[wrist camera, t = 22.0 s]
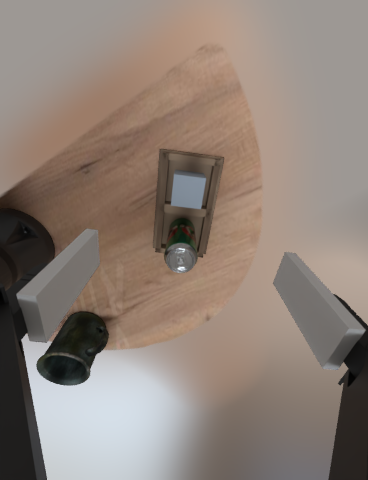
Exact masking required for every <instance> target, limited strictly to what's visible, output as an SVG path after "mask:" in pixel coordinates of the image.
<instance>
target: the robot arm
mask: <svg viewBox="0 0 368 480" xmlns="http://www.w3.org/2000/svg"><path fill="white" fill-rule="evenodd" d="M53 258H54V244H53V241H52V239H51V237H50V235H49V233H48V232H47V231H46V229H45V228H44V227H43V226H42V225H41V224H40V223H39V222H38V221H36V220H35V219H34V218H32V217H31V216H29V215H27V214H25V213H23V212H20V211H17V210H13V209H0V480H47V476H46V471H45V465H44V460H43V455H42V449H41V444H40V438H39V432H38V427H37V422H36V416H35V411H34V406H33V400H32V394H31V389H30V384H29V378H28V373H27V367H26V362H25V356H24V351H23V345H22V342H21V339H22V338H23V337H24V336H25V334H26V333H28V336H29V340H30V341H35V342H45V343H47V342H48V340H49V339H50V337H51V336H52V334H53V333H54V331H55V330H56V328H57V327H58V325H59V324H60V322H61V321H62V319H63V318H64V316H65V315H66V313H67V312H68V311H69V309H70V308H71V306H72V305H73V303H74V302H75V300H76V299H77V297H78V296H79V294H80V293H81V291H82V290H83V288H84V287H85V285H86V284H87V282H88V281H89V279H90V278H91V276H92V275H93V273H94V272H95V270H96V269H97V267H98V266H99V264H100V258H99V241H98V230H94V229H85V230H84V231H83V232H82V233H81V234H80V235H79V236H78V237H77V238H76V239H75V240H74V241H73V242H72V243H71V244H69V245H68V246H67V247H66V248H65V249H64V250H63V251H62V252H61V253H60V254H59V255H58V256H57V257H56V258H55V259H53ZM273 284H274V286H275V287H276V289H277V291H278V293H279V294H280V296H281V298H282V299H283V301H284V303H285V305H286V306H287V308H288V310H289V312H290V313H291V315H292V317H293V318H294V320H295V322H296V323H297V325H298V327H299V329H300V331H301V332H302V334H303V336H304V337H305V339H306V341H307V342H308V344H309V346H310V348H311V349H312V351H313V353H314V355H315V356H316V358H317V360H318V362H319V363H320V365H321V367H322V368H323V369H333V370H338V368H339V367H340V366H341V364H342V363H343V362H344V363H345V364H346V366H347V367H348V368H349V369H348V370H347V372H346V373H345V375H344V376H343V377H342V378H341V380H340V381H339V383H338V384H339V385H341V384H342V383H344V384H343V391H342V397H341V403H340V410H339V417H338V423H337V429H336V435H335V442H334V449H333V455H332V462H331V467H330V474H329V480H368V326H367V324H366V323H365V322H364V321H363V320H362V319H361V318H360V317H359V316H358V315H356V313H355V312H354V311H353V310H352V309H351V308H350V306H348V304H347V303H346V302H345V301H344V300H342V299H341V298H339V297H338V296H337V295H335V294H332V293H331V291H330V290H329V289H328V288H327V287H326V286H325V285H324V284H323V283H322V282H321V281H320V279H319V278H318V277H317V276H316V275H315V274H314V273H313V272H312V271H311V270H310V269H309V267H307V265H306V264H305V263H304V262H303V261H302V260H301V259H300V258H299V257H298V256H297V254H296V253H289V252H285V253H284V256H283V259H282V261H281V264H280V266H279V269H278V271H277V274H276V277H275V279H274V282H273Z"/></svg>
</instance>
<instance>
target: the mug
mask: <svg viewBox="0 0 368 480" xmlns="http://www.w3.org/2000/svg"><path fill="white" fill-rule="evenodd" d="M108 337H109V333H108V331H107V329H106V327H105V324H104V322H103V321H102V320H101V319H100V318H99V317H98V316H96V315H94V314H91V313H86V312H80V313H76V314H73V315H71V316H70V317H69V318H68V319H67V320H66V322H65V323H64V325H63V326H62V328H61V330H60V331H59V333H58V334H57V336H56V337H55V339H54V340H53V342H52V343H51V345H50V347H49V348H48V350H47V351H46V353H45V354H44V355H43V356H42V357H40V358H39V360H38V361H37V370H38V372H39V373H40V374H41V375H42V376H43V377H44V378H45V379H47V380H49V381H51V382H53V383H56V384H60V385H77V384H81V383H83V382H85V381H86V380H87V379H88V378H89V376H90V368H91V366H92V363H93V361H94V359H95V356H96V354H97V353H100V352H101V351H102V350H103V349H104V348H105V346H106V344H107V341H108Z"/></svg>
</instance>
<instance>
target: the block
mask: <svg viewBox="0 0 368 480" xmlns="http://www.w3.org/2000/svg"><path fill="white" fill-rule="evenodd" d="M205 182H206V177H205V175H204V173H199V172H191V171H183V170H176V169H175V173H174V179H173V189H172V199H171V206H178V207H186V208H194V209H201V206H202V200H203V194H204V188H205Z"/></svg>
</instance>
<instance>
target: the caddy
mask: <svg viewBox="0 0 368 480" xmlns="http://www.w3.org/2000/svg"><path fill="white" fill-rule="evenodd" d="M223 162H224V157H217V156H210V155H202V154H195V153H188V152H180V151H173V150H166V149H160V153H159V168H158V182H157V197H156V211H155V226H154V240H153V248H156V251H155V252H159V253H165V248H166V243H167V237H168V232H169V227H170V224H171V223H172V222H173V221H174V220H176V219H179V218H185V219H188V220H190V221H191V222H192V223H193V225H194V227H195V236H196V246H197V257H202V258H203V254H206V249H207V243H208V238H209V233H210V228H211V223H212V218H213V213H214V208H215V203H216V198H217V193H218V188H219V182H220V177H221V172H222V167H223ZM175 169H176V170H183V171H191V172H199V173H204V175H205V177H206V182H205V188H204V194H203V200H202V206H201V209H194V208H186V207H178V206H171V199H172V189H173V179H174V173H175Z"/></svg>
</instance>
